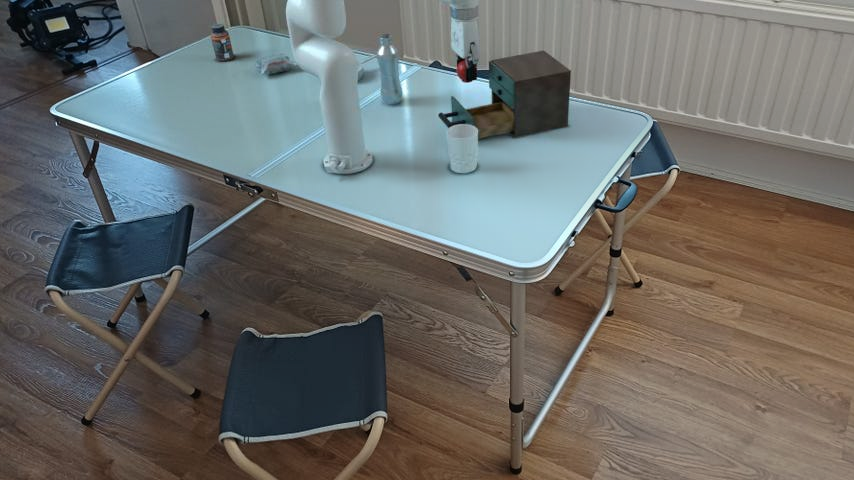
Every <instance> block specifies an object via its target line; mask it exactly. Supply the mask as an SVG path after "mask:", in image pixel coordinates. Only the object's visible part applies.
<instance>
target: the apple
mask: <svg viewBox="0 0 854 480" xmlns="http://www.w3.org/2000/svg"><path fill="white" fill-rule="evenodd" d="M468 60H469V62H470V59H468ZM465 67H466V61H465V60H464V61H462V62H460V63H459V64H458V66H457V65H456V75H457V77H458V79H460V80H461V82H462V83H466V84H469V83H472V82H473V81H468V82H467V81H466V77H465Z"/></svg>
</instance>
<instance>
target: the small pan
mask: <svg viewBox="0 0 854 480" xmlns="http://www.w3.org/2000/svg"><path fill="white" fill-rule="evenodd" d="M373 59H377V54H373V55H371V56H369V57H367V58H365V59H363V60H362V59H361V60H360V61H358V81H360V80H361V79H362V76H363V74H364V69H365V68H364V63H367V62H370V61H371V60H373Z"/></svg>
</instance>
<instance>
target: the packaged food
mask: <svg viewBox="0 0 854 480" xmlns="http://www.w3.org/2000/svg"><path fill="white" fill-rule="evenodd" d="M296 66H298V65H297V63H296V62H294V61H293V60H291V59H290V57H289V56H288V55H286V54H284V53H276V54H271V55H267V56H263V57H261V58H258V59H257V60H256V62H255V65H254V69H257V68H258V70H260V71H261V72H260V75H261V76H262V75H267V76H270V75H275V74H279V73H283V72H287V71H289V70H292V69H293V68H295V67H296Z"/></svg>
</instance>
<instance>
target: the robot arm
mask: <svg viewBox="0 0 854 480" xmlns="http://www.w3.org/2000/svg"><path fill="white" fill-rule="evenodd" d="M439 1H441V2H443V3H448V4H449V7H450V9H449V11H450V47H451V49H452V51H454V53H455V58H456V67H457V66H458V64H459V63H460V62H462V61H464V60H465V61H466V67H465V77H466V81H467V82H468V81H472V82H473V81H474V82H475V81H477V80H478V77H477V76H478V62H479V54H480V39H479V26H478V19H479V17H480V13H479V11H480V10H479V7H480V6H479V0H439ZM285 18H286V25H287V30H288V35H289V41H290V45H291V52H292V54H293V58H294V61H295V63H296V64H297V65H296V66H298V67H299V68H300V69H301V70H302V71H304V72H306V73H308V74H309V75H312V76H313V77H316V78H317V79H319V80H320V83H321V85H320V88H319V89H320V91H319V95H318V96H319V107H320V112H321V113H320V114H321V119H322V125H323V129H324V136H325V143H326V149H327V154H326V155H325V156H324V158H323V167H324V168H325V172H326V173H327V174H332V173H333V174H338V175H339V174H340V175H349V174H355V173H359V172H362V171H364V170H366V169H368V168H369V167H370V166H371V165H372V163H373V161H374V160H373V154H372V152H371V151H369V150H368V149H367V148H366V144H365V135H364V128H363V122H362V121H363V120H362V114H361V105H360V97H359V88H358V86H359V85H358V84H359V83H358V81H359V80H358V62H359V61H358V58H357V55H356V54H355V52H354V51H353V50H352V49H351V48H350V47H349V46H347V45H346V44H344V43H342V42H340V41H338V40H335V39H336V38H338V37H340V36H341V35H343V33H344V32H345V30H346V27H347V15H346V6H345V0H287V1H286V7H285ZM470 59H471V60H470ZM469 60H470V62H469Z"/></svg>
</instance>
